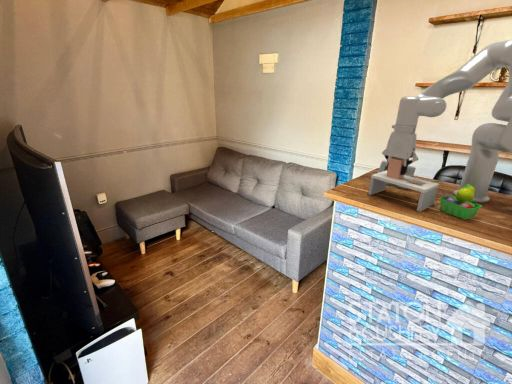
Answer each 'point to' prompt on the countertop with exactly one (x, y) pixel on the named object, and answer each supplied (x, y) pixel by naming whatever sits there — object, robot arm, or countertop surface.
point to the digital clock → (409, 173)
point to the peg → (395, 169)
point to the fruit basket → (461, 203)
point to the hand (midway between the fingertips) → (395, 172)
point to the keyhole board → (426, 189)
